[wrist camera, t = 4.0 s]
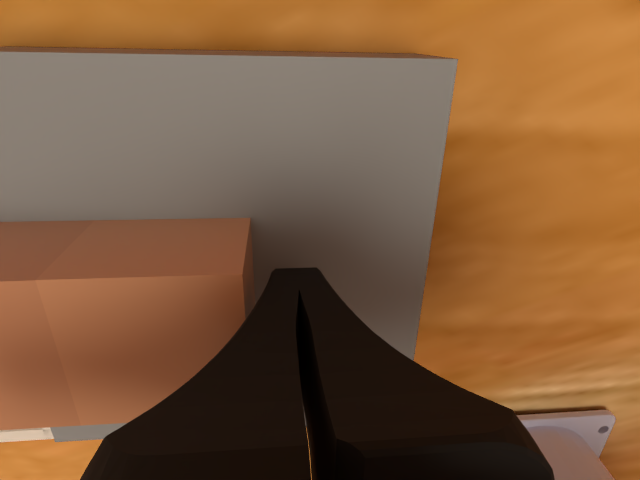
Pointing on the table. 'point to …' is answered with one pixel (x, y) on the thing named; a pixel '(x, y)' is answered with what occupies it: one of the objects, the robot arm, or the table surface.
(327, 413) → the robot arm
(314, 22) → the table surface
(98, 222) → the orange brown block
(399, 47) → the table surface
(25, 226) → the terracotta block
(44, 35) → the table surface
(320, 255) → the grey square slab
